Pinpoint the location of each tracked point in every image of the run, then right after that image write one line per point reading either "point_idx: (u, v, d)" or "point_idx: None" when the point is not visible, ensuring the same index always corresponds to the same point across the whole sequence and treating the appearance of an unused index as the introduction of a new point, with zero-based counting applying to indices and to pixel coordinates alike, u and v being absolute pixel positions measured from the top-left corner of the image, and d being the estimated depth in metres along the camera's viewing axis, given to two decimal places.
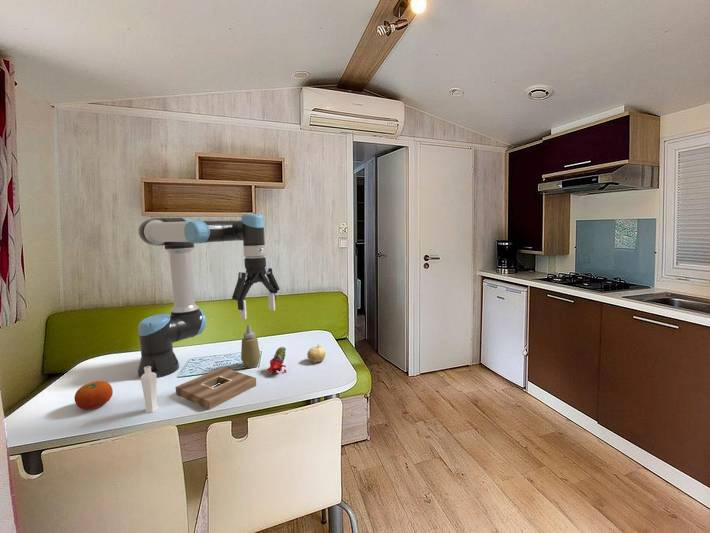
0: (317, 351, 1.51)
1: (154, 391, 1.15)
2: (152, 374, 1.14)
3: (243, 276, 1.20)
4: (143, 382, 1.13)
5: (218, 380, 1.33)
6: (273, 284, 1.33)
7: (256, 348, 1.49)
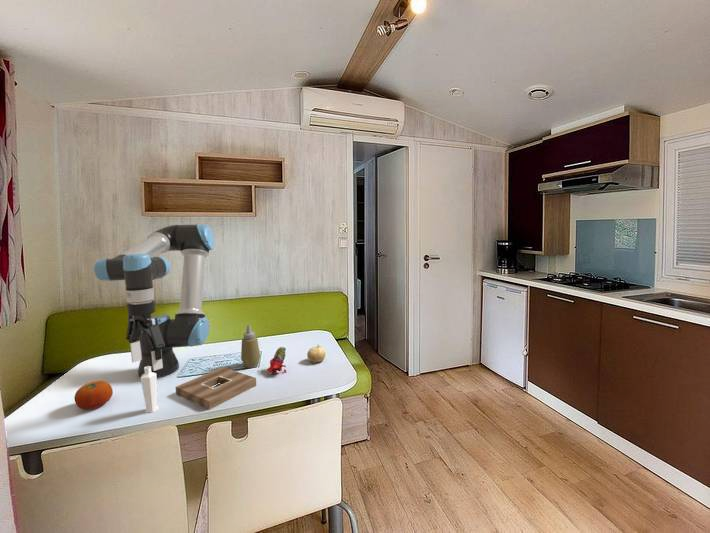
0: (317, 351, 1.51)
1: (154, 391, 1.15)
2: (152, 374, 1.14)
3: (129, 318, 1.15)
4: (143, 382, 1.13)
5: (218, 380, 1.33)
6: None
7: (256, 348, 1.49)
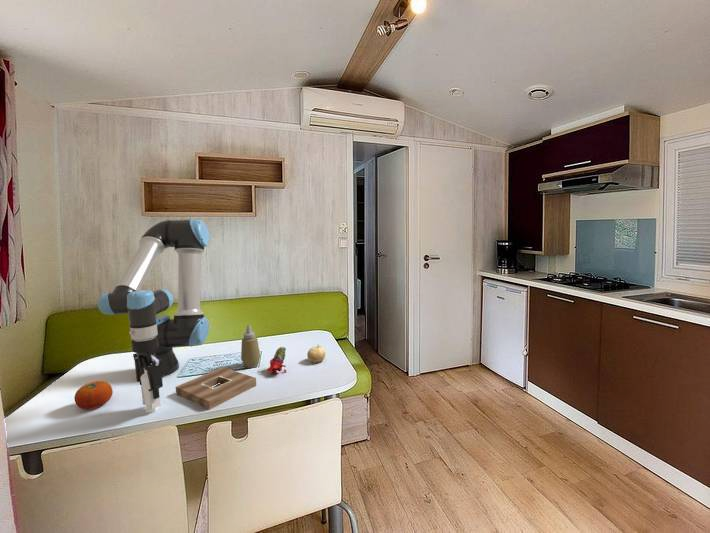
0: (317, 351, 1.51)
1: None
2: None
3: (134, 358, 1.16)
4: (143, 382, 1.13)
5: (218, 380, 1.33)
6: None
7: (256, 348, 1.49)
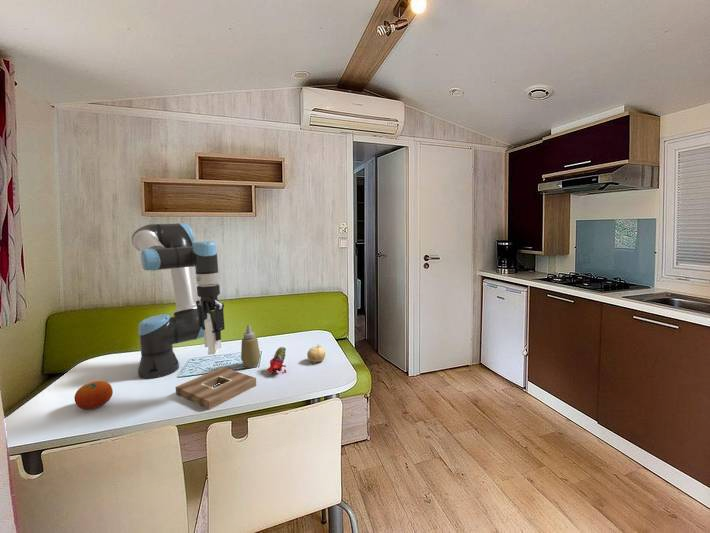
0: (317, 351, 1.51)
1: None
2: None
3: (197, 304, 1.27)
4: (206, 326, 1.23)
5: (218, 380, 1.33)
6: None
7: (256, 348, 1.49)
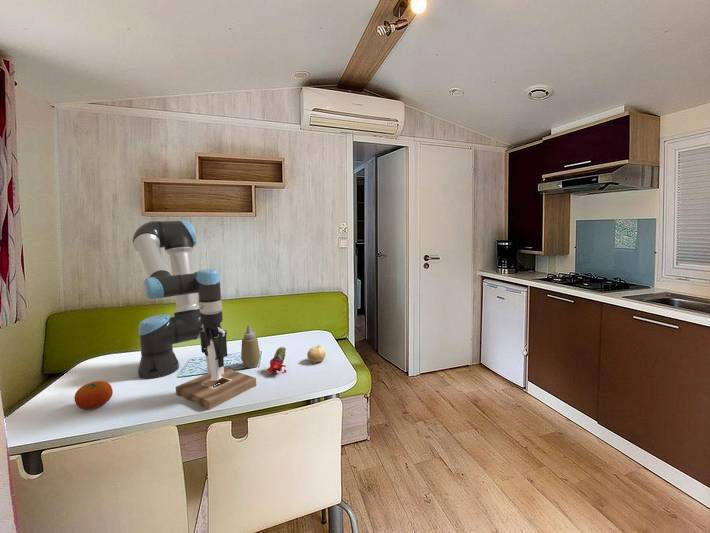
0: (317, 351, 1.51)
1: None
2: None
3: (199, 330, 1.28)
4: (209, 353, 1.25)
5: (218, 380, 1.33)
6: None
7: (256, 348, 1.49)
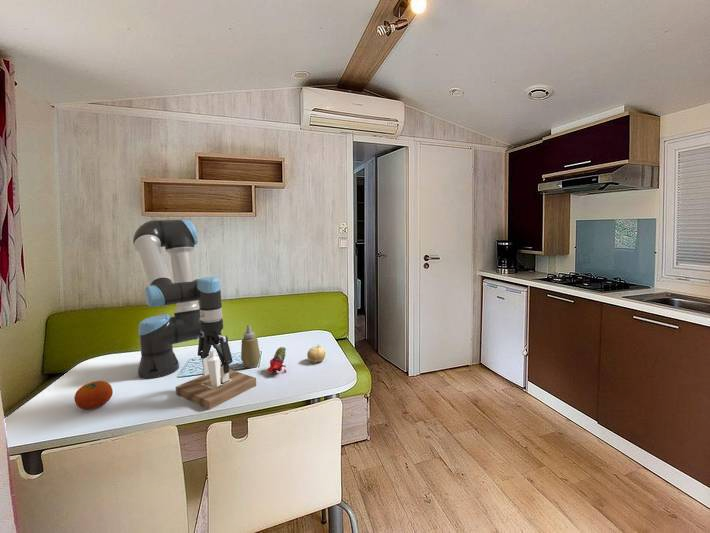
0: (317, 351, 1.51)
1: (218, 373, 1.28)
2: (216, 357, 1.27)
3: (199, 335, 1.29)
4: (209, 365, 1.26)
5: None
6: None
7: (256, 348, 1.49)
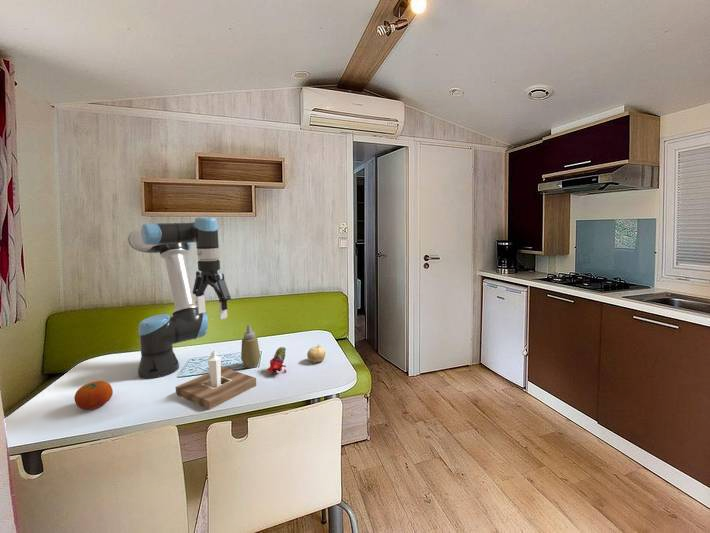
0: (317, 351, 1.51)
1: (219, 373, 1.28)
2: (217, 358, 1.27)
3: (196, 274, 1.31)
4: (210, 365, 1.26)
5: None
6: None
7: (256, 348, 1.49)
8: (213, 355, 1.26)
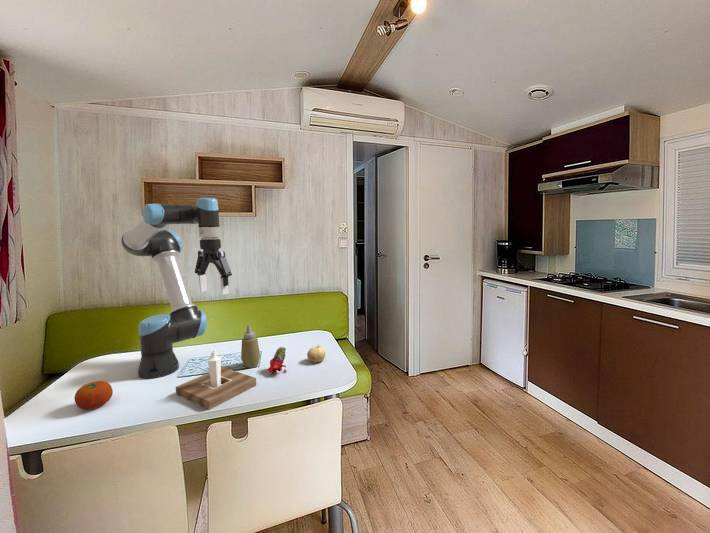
0: (317, 351, 1.51)
1: (219, 373, 1.28)
2: (217, 358, 1.27)
3: (198, 254, 1.37)
4: (210, 365, 1.25)
5: None
6: None
7: (256, 348, 1.49)
8: (213, 355, 1.26)
